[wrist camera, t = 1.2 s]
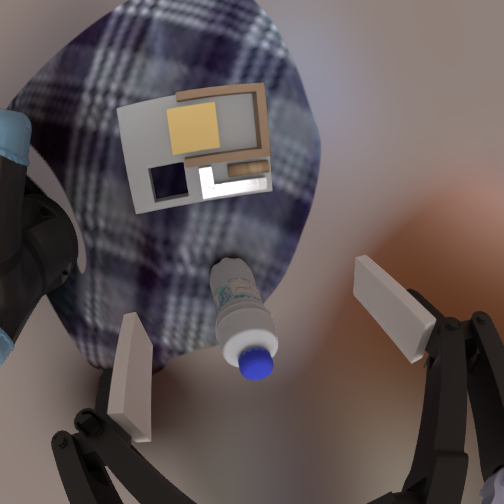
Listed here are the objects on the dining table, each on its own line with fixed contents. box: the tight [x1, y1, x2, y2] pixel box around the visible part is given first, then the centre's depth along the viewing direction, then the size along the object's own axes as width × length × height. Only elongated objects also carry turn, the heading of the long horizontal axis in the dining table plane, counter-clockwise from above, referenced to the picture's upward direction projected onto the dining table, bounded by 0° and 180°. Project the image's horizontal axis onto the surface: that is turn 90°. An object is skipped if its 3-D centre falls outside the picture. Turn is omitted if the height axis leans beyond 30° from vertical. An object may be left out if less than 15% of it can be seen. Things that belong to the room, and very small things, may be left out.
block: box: [166, 102, 220, 155], centre depth 29 cm, size 5×5×5 cm
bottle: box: [210, 257, 278, 380], centre depth 34 cm, size 7×7×20 cm
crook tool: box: [199, 165, 267, 199], centre depth 34 cm, size 8×4×2 cm, turn 95°
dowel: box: [227, 160, 270, 178], centre depth 34 cm, size 5×2×2 cm, turn 95°
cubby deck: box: [117, 83, 272, 214], centre depth 32 cm, size 18×14×4 cm
